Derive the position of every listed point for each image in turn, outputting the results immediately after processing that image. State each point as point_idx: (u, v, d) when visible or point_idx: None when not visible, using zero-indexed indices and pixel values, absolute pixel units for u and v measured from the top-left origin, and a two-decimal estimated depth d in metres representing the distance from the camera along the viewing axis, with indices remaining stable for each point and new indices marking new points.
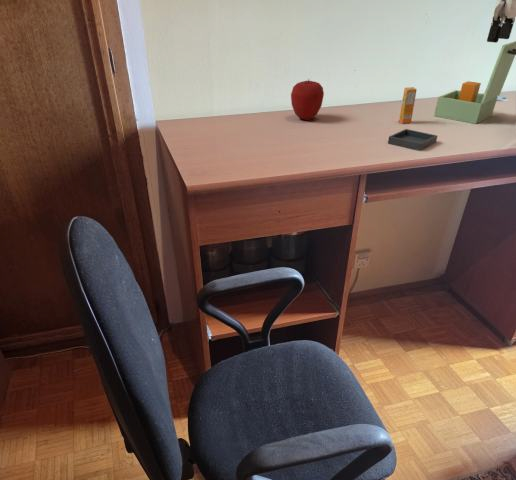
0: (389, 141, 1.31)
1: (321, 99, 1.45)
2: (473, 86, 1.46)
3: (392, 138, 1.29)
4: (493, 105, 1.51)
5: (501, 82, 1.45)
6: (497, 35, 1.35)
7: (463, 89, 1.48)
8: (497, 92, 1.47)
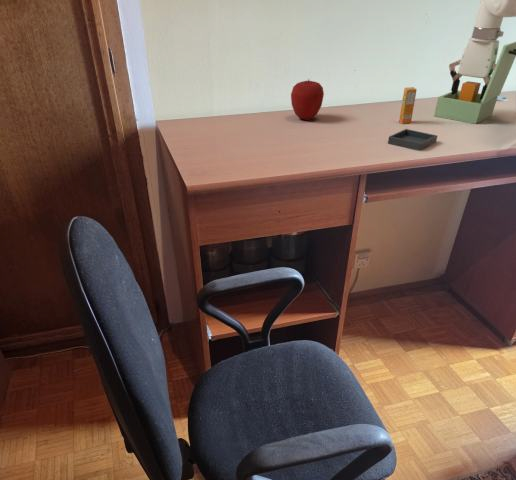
0: (389, 141, 1.31)
1: (321, 99, 1.45)
2: (473, 86, 1.46)
3: (392, 138, 1.29)
4: (493, 105, 1.51)
5: (501, 82, 1.45)
6: None
7: (463, 89, 1.48)
8: (497, 92, 1.47)
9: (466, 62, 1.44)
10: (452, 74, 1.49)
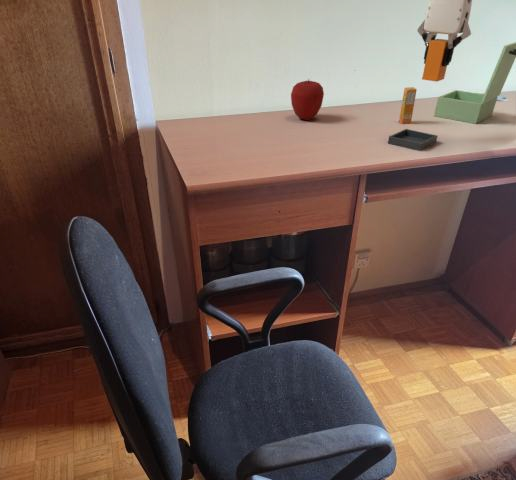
0: (389, 141, 1.31)
1: (321, 99, 1.45)
2: (443, 43, 1.17)
3: (392, 138, 1.29)
4: (493, 105, 1.51)
5: (501, 82, 1.45)
6: None
7: (431, 48, 1.19)
8: (497, 92, 1.47)
9: (434, 14, 1.15)
10: (424, 38, 1.20)
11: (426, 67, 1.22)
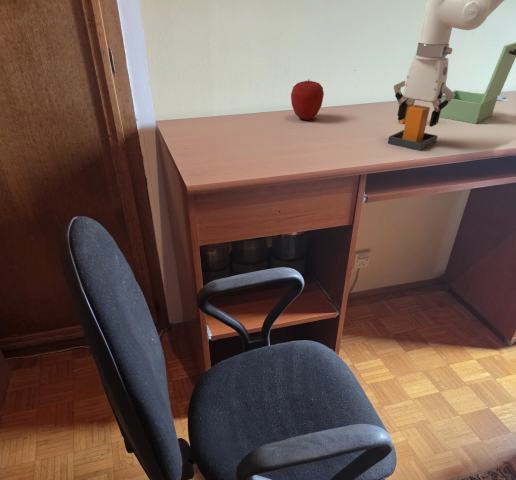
0: (389, 141, 1.31)
1: (321, 99, 1.45)
2: (420, 111, 1.24)
3: (392, 138, 1.29)
4: (493, 105, 1.51)
5: (501, 82, 1.45)
6: None
7: (409, 114, 1.26)
8: (497, 92, 1.47)
9: (412, 83, 1.21)
10: (397, 97, 1.27)
11: (405, 131, 1.29)
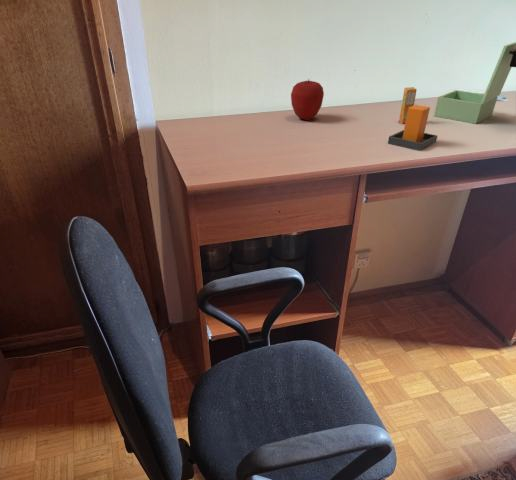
0: (389, 141, 1.31)
1: (321, 99, 1.45)
2: (420, 111, 1.24)
3: (392, 138, 1.29)
4: (493, 105, 1.51)
5: (501, 82, 1.45)
6: None
7: (409, 114, 1.26)
8: (497, 92, 1.47)
9: None
10: None
11: (405, 131, 1.29)
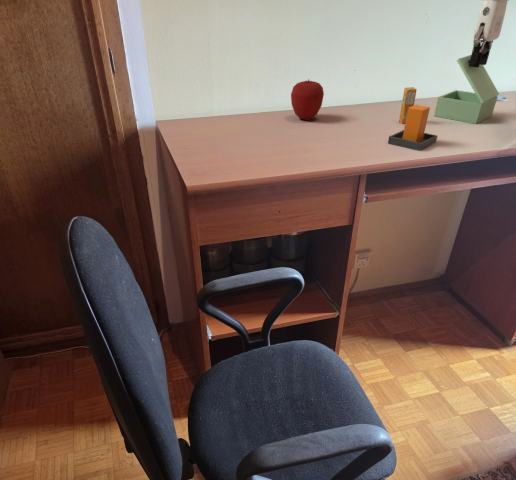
0: (389, 141, 1.31)
1: (321, 99, 1.45)
2: (420, 111, 1.24)
3: (392, 138, 1.29)
4: (493, 105, 1.51)
5: (489, 84, 1.48)
6: (478, 60, 1.41)
7: (409, 114, 1.26)
8: (493, 92, 1.48)
9: None
10: None
11: (405, 131, 1.29)
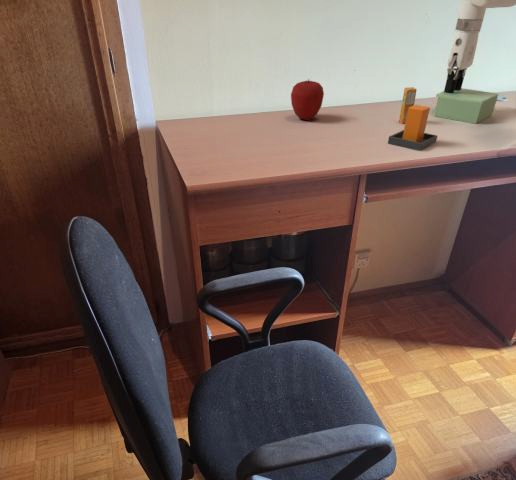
0: (389, 141, 1.31)
1: (321, 99, 1.45)
2: (420, 111, 1.24)
3: (392, 138, 1.29)
4: (493, 105, 1.51)
5: (482, 93, 1.50)
6: (453, 87, 1.49)
7: (409, 114, 1.26)
8: (490, 94, 1.49)
9: None
10: None
11: (405, 131, 1.29)
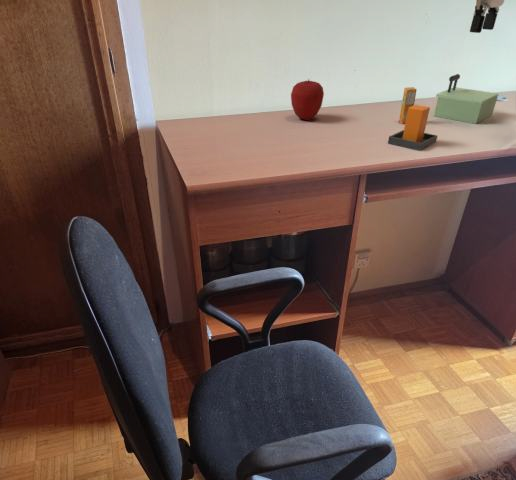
0: (389, 141, 1.31)
1: (321, 99, 1.45)
2: (420, 111, 1.24)
3: (392, 138, 1.29)
4: (493, 105, 1.51)
5: (482, 93, 1.50)
6: (480, 25, 1.31)
7: (409, 114, 1.26)
8: (490, 94, 1.49)
9: None
10: None
11: (405, 131, 1.29)
